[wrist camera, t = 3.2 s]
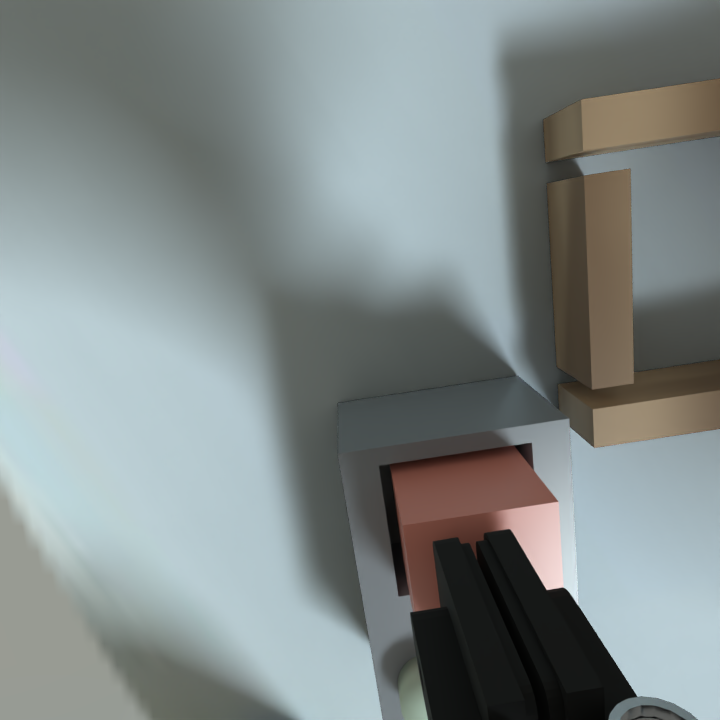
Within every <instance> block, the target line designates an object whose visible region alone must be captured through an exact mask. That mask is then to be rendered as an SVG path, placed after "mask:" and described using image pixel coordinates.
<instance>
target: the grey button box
mask: <svg viewBox="0 0 720 720" xmlns="http://www.w3.org/2000/svg"><path fill="white" fill-rule="evenodd" d="M512 445H514V446H515V448H516V449H517V450H518V451H519V453H520V454H521V455H522V456H523V458H524V459H525V460H526V461H527V463H528V464H529V465H530V466H531V468H532V469H533V470H534V471H535V473H536V474H537V475H538V476H539V478H540V479H541V480H542V481H543V483H544V484H545V485H546V486H547V488H548V489H549V490H550V491H551V493H552V494H553V495H554V496H555V498H556V499H557V500H558V501H559V515H560V533H561V550H562V568H563V585H564V588H565V589H567V590H568V591H569V593H570V594H571V595H572V597H573V598H574V600H575V601H576V603H577V605H578V606H579V604H578V583H577V563H576V543H575V523H574V503H573V482H572V462H571V442H570V422H569V418H568V417H567V416H566V415H564V414H563V413H562V412H561V411H560V410H558V409H557V408H556V407H555V406H554V405H552V404H551V403H550V402H549V401H548V400H546V399H545V398H544V397H543V396H542V395H540V394H539V393H538V392H537V391H536V390H534V389H533V388H532V387H531V386H530V385H528V384H527V383H526V382H525V381H524V380H522V379H521V378H520V377H519V376H512V377H506V378H499V379H493V380H486V381H480V382H473V383H466V384H460V385H453V386H447V387H440V388H433V389H427V390H420V391H414V392H407V393H401V394H394V395H387V396H381V397H374V398H368V399H361V400H354V401H348V402H341V403H338V452H337V454H338V460H339V466H340V472H341V477H342V483H343V489H344V495H345V501H346V507H347V513H348V518H349V524H350V530H351V536H352V542H353V548H354V554H355V559H356V565H357V571H358V577H359V583H360V589H361V595H362V600H363V606H364V612H365V618H366V624H367V630H368V636H369V641H370V647H371V653H372V659H373V665H374V671H375V677H376V682H377V688H378V694H379V700H380V706H381V712H382V718H383V720H428V717H427V712H426V707H425V702H424V697H423V692H422V686H421V681H420V675H419V670H418V664H417V658H416V652H415V646H414V639H413V632H412V625H411V618H410V612H413V610H412V605H411V600H410V595H409V589H408V584H407V579H406V574H405V568H404V562H403V555H402V548H401V541H400V534H399V527H398V520H397V513H396V506H395V499H394V492H393V485H392V479H391V472H390V465H389V464H393V463H400V462H407V461H413V460H420V459H426V458H433V457H439V456H446V455H453V454H459V453H466V452H472V451H479V450H486V449H492V448H499V447H505V446H512Z"/></svg>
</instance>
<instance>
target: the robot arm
mask: <svg viewBox="0 0 720 720" xmlns="http://www.w3.org/2000/svg"><path fill="white" fill-rule="evenodd" d="M483 538H484V540H482V541H476V553H477V559H476V557H475V554H474V552H473V550H472V548H471V545H470V543H463V544H461V543H460V540H459V538H458V537H456V538H449V539H443V540H437V541H433V553H434V561H435V569H436V577H437V584H438V592H439V600H440V608H434V609H428V610H422V611H416V612H410V618H411V625H412V632H413V639H414V646H415V652H416V658H417V664H418V670H419V675H420V681H421V686H422V692H423V697H424V702H425V707H426V712H427V717H428V720H698V719H696V718H695V717H694V716H693V715H692V714H691V713H689V712H688V711H686V710H684V709H682V708H681V707H679V706H677V705H675V704H674V703H671V702H668V701H665V700H662V699H659V698H653V697H643V696H640V697H637V695H636V694H635V692H634V691H633V689H632V688H631V686H630V685H629V683H628V681H627V680H626V678H625V677H624V675H623V674H622V672H621V671H620V669H619V668H618V666H617V665H616V663H615V661H614V660H613V658H612V657H611V655H610V654H609V652H608V651H607V649H606V648H605V646H604V645H603V643H602V641H601V640H600V638H599V637H598V635H597V634H596V632H595V631H594V629H593V628H592V626H591V625H590V623H589V621H588V620H587V618H586V617H585V615H584V614H583V612H582V611H581V609H580V608H579V606H578V605H577V603H576V601H575V600H574V598H573V597H572V595H571V594H570V593H569V591H568V590H567V589H565V588H564V587H562V588H556V589H550V590H546V588H545V586H544V585H543V583H542V581H541V580H540V578H539V576H538V574H537V573H536V571H535V569H534V568H533V566H532V564H531V563H530V561H529V559H528V558H527V556H526V554H525V552H524V551H523V549H522V547H521V546H520V544H519V542H518V541H517V539H516V537H515V536H514V534H513V532H512V531H511V530H510V529H505V530H499V531H493V532H487V533H484V537H483Z"/></svg>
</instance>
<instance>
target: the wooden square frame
mask: <svg viewBox="0 0 720 720" xmlns="http://www.w3.org/2000/svg"><path fill="white" fill-rule="evenodd" d="M543 126H544V144H545V162H552V161H559V160H565V159H572V158H579V157H585V156H592V155H598V154H605V153H612V152H618V151H625V150H631V149H638V148H645V147H651V146H658V145H664V144H671V143H678V142H684V141H691V140H697V139H704V138H711V137H717V136H720V78H719V79H713V80H706V81H700V82H693V83H686V84H680V85H673V86H667V87H660V88H653V89H647V90H640V91H634V92H627V93H620V94H614V95H607V96H601V97H594V98H587V99H581V100H579V101H577V102H575V103H574V104H572V105H570V106H568V107H566V108H564V109H562V110H560V111H558V112H556V113H555V114H553V115H551V116H549V117H547V118H545V119H543ZM547 199H548V217H549V236H550V254H551V273H552V291H553V309H554V328H555V346H556V364H557V367H558V368H559V369H561V370H562V371H564V372H565V373H567V374H568V375H570V376H572V377H573V378H575V379H576V380H578V381H575V382H568V383H562V384H558V401H559V410H560V411H561V412H562V413H563V414H564V415H566V416H567V417H568V418H569V422H570V427H571V428H572V429H573V430H574V431H575V432H576V433H578V434H579V435H580V436H581V437H582V438H583V439H585V440H586V441H587V442H588V443H589V444H590V445H591V446H593V447H594V448H597V447H604V446H610V445H617V444H623V443H630V442H637V441H643V440H650V439H656V438H663V437H669V436H676V435H683V434H689V433H696V432H702V431H709V430H715V429H720V360H713V361H706V362H700V363H693V364H687V365H680V366H673V367H667V368H660V369H654V370H647V371H641V372H634V355H633V293H632V232H631V170H630V169H624V170H617V171H611V172H604V173H598V174H591V175H585V176H580V177H575V178H570V179H565V180H561V181H556V182H551V183H547Z"/></svg>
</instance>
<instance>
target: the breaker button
mask: <svg viewBox="0 0 720 720" xmlns="http://www.w3.org/2000/svg"><path fill="white" fill-rule="evenodd" d="M389 465H390V472H391V479H392V485H393V492H394V499H395V506H396V513H397V520H398V527H399V534H400V541H401V548H402V555H403V562H404V568H405V574H406V579H407V584H408V589H409V595H410V600H411V605H412V610H413V612H416V611H422V610H428V609H434V608H440V600H439V592H438V584H437V577H436V569H435V561H434V553H433V541H437V540H443V539H449V538H456V537H458V538H459V540H460V543H461V544H463V543H470V545H471V548H472V550H473V552H474V554H475V557H476V559H477V553H476V541H482V540H484V538H483V537H484V533H487V532H493V531H499V530H505V529H510V530H511V531H512V532H513V534H514V536H515V537H516V539H517V541H518V542H519V544H520V546H521V547H522V549H523V551H524V552H525V554H526V556H527V558H528V559H529V561H530V563H531V564H532V566H533V568H534V569H535V571H536V573H537V574H538V576H539V578H540V580H541V581H542V583H543V585H544V586H545V588H546V590H550V589H556V588H562V587H564V585H563V568H562V550H561V533H560V515H559V501H558V500H557V499H556V498H555V496H554V495H553V494H552V493H551V491H550V490H549V489H548V488H547V486H546V485H545V484H544V483H543V481H542V480H541V479H540V478H539V476H538V475H537V474H536V473H535V471H534V470H533V469H532V468H531V466H530V465H529V464H528V463H527V461H526V460H525V459H524V458H523V456H522V455H521V454H520V453H519V451H518V450H517V449H516V448H515V446H514V445H512V446H505V447H499V448H492V449H486V450H479V451H472V452H466V453H459V454H453V455H446V456H439V457H433V458H426V459H420V460H413V461H407V462H400V463H393V464H389Z"/></svg>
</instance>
